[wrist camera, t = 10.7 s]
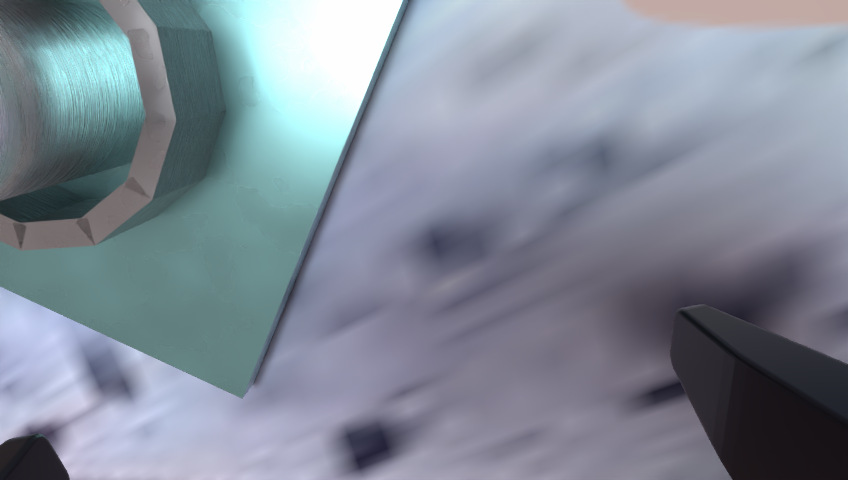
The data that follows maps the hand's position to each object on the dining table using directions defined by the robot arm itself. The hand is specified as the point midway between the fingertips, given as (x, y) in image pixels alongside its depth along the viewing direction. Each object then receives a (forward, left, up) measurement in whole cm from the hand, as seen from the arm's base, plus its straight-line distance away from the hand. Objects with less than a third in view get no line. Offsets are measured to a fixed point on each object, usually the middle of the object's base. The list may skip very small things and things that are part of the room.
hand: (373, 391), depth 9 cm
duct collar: (+12, +1, -12) cm, 16 cm away
